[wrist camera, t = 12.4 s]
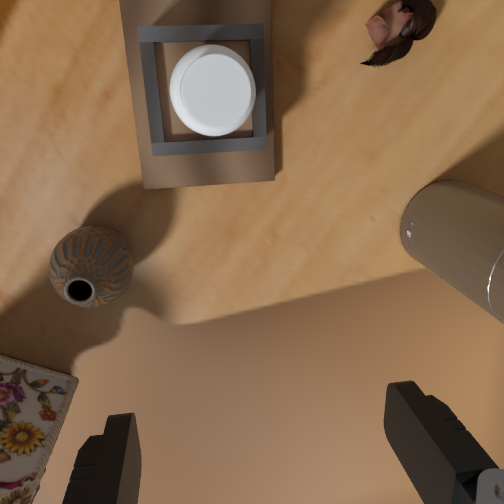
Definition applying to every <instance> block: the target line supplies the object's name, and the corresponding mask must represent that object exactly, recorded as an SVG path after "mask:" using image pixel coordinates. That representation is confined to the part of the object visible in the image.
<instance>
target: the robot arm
mask: <svg viewBox="0 0 504 504" xmlns="http://www.w3.org/2000/svg"><path fill="white" fill-rule="evenodd" d="M400 237H401V241H402V244H403V246H404V248H405V250H406V251H407V252H408V254H409V255H410V256H411V257H413V258H414V259H415V260H417V261H418V262H420V263H421V264H422V265H424V266H425V267H426V268H428V269H429V270H430V271H432V272H433V273H434V274H436V275H437V276H438V277H440V278H441V279H443V280H444V281H445V282H447V283H448V284H449V285H451V286H452V287H453V288H455V289H456V290H457V291H459V292H460V293H462V294H463V295H465V296H466V297H467V298H469V299H470V300H471V301H473V302H474V303H475V304H477V305H478V306H480V307H481V308H482V309H484V310H485V311H487V312H488V313H489V314H490V315H492V316H493V317H495V318H496V319H497V320H499V321H500V322H501V323H503V324H504V196H501V195H498V194H495V193H492V192H489V191H486V190H483V189H480V188H477V187H474V186H471V185H468V184H465V183H462V182H459V181H453V180H447V181H440V182H436V183H433V184H431V185H429V186H427V187H425V188H424V189H423V190H421V191H420V192H419V193H417V194H416V196H415V197H414V198H413V199H412V200H411V201H410V203H409V204H408V206H407V207H406V209H405V211H404V214H403V216H402V220H401V225H400ZM384 429H385V434H386V437H387V439H388V441H389V443H390V445H391V447H392V449H393V450H394V452H395V454H396V456H397V457H398V459H399V461H400V463H401V464H402V466H403V468H404V469H405V471H406V473H407V475H408V476H409V478H410V480H411V482H412V483H413V485H414V487H415V489H416V490H417V492H418V494H419V495H420V497H421V499H422V501H423V502H424V504H504V470H503V469H499V467H498V466H497V465H496V464H495V462H494V461H493V460H492V459H491V458H490V457H489V455H488V454H487V453H486V452H485V450H484V449H483V448H482V447H481V446H480V444H479V443H478V442H477V441H476V440H475V438H474V437H473V436H472V435H471V434H470V432H469V431H467V430H466V428H465V426H464V425H463V424H462V423H461V421H459V420H458V419H457V417H456V415H455V414H454V413H453V412H452V411H451V409H450V408H449V407H448V406H447V405H446V404H444V403H443V402H441V401H440V400H438V399H437V398H436V397H434V396H433V395H428V396H425V395H424V393H423V392H422V391H421V390H420V388H419V387H418V386H417V384H416V383H415V382H414V381H404V382H395V383H389V384H388V386H387V392H386V403H385V413H384ZM140 479H141V449H140V443H139V437H138V431H137V424H136V418H135V414H134V413H126V414H117V415H110V416H108V418H107V422H106V426H105V430H104V434H103V435H95V436H90V437H89V438H88V439H87V441H86V442H85V443H84V444H83V446H82V447H81V448H80V449H79V451H78V454H77V457H76V460H75V464H74V469H73V470H72V474H71V477H70V482H69V483H68V486H67V490H66V493H65V496H64V499H63V503H62V504H137V503H138V494H139V487H140Z"/></svg>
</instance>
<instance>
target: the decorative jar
mask: <svg viewBox="0 0 504 504" xmlns="http://www.w3.org/2000/svg"><path fill="white" fill-rule="evenodd" d="M78 383H79V380H78V378H77V377H74V376H71V375H68V374H64V373H61V372H57V371H54V370H51V369H47V368H43V367H40V366H37V365H33V364H30V363H27V362H23V361H20V360H17V359H13V358H10V357H6V356H3V355H0V504H32V502H33V500H34V498H35V495H36V493H37V492H38V490H39V489H40V480H41V478H42V476H43V474H44V473H45V471H46V465H47V463H48V460H49V457H50V455H51V453H52V450H53V448H54V445H55V443H56V440H57V438H58V435H59V433H60V430H61V428H62V425H63V423H64V420H65V417H66V415H67V412H68V409H69V406H70V404H71V401H72V398H73V395H74V393H75V390H76V388H77V385H78Z"/></svg>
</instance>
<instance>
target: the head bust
mask: <svg viewBox="0 0 504 504" xmlns="http://www.w3.org/2000/svg"><path fill="white" fill-rule="evenodd" d="M435 12H437V10H436V8H435V6H434V4H433V5H432V2H431V1H430V0H401V1H400V2H397V3H396V2H393V3H392V5H391V6H389V7H388V8H387V9H385V10H383V12H382V17H383V18H382V17H380V16H374V18H373V19H371V20H370V21H369V22H368V23H367V24H365V25H366V26H367V29H368V32H369V35H370V37H371V39H372V40H373V41H374V43H375V45H376V47H377V49H378V51H375V52H376V53H374V52H373V53H372V57H371V56H370V58H371V59H369V61H368V60H367V61H365V62H363V63H360V64H364V65H368V66H370V65H372V66H373V65H374V64H376V65H377V66H380V67H381V66H384V65H387V63H388V64H389V63H390V62H392V61H393V60H394V61H396V60H398V59H401V58H403V57H404V56H405V55H406V54H407V53H408V52H409V51H410V49H411V46H412V44H413V40H421V39H423V38H425V37H426V36H427V35H428V34H429V33H430V32H431V30H432V29H433V26H434V23H435V20H436V14H437V13H435ZM397 36H398V37H400V38H402V39H404V40H403V41H400V42H401V43H400V44H399V41H398V44H399V45H397V44H396V45H397V46H386V45H387V44H388V43H389V42H390V41H391V40H392V39H393V38H395V37H397ZM394 45H395V44H394ZM385 47H386V48H385ZM384 49H385V50H384ZM384 52H385V53H384ZM373 54H374V55H373ZM394 55H395V56H394ZM388 56H389V57H388ZM374 66H375V65H374Z"/></svg>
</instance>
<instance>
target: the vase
mask: <svg viewBox="0 0 504 504" xmlns="http://www.w3.org/2000/svg"><path fill="white" fill-rule="evenodd" d="M133 267H134V260H133V255H132V252H131V249H130V247H129V245H128V243H127V242H126V241H125V239H124V238H123V237H122V236H121V235H119V234H118V233H117V232H115V231H113V230H111V229H109V228H106V227H102V226H85V227H81V228H78V229H75V230H73V231H71V232H70V233H68V234H67V235H66V236H65V237H63V238H62V239H61V240H60V242H59V243H58V244H57V245H56V247H55V248H54V250H53V252H52V255H51V258H50V263H49V274H50V279H51V283H52V285H53V287H54V289H55V290H56V292H57V293H58V294H59V295H60V296H61V297H62V298H63V299H64V300H66V301H67V302H69V303H71V304H73V305H76V306H79V307H85V308H93V307H99V306H103V305H106V304H108V303H110V302H112V301H113V300H115V299H116V298H117V297H119V296H120V295H121V294H122V293H123V292H124V290H125V289H126V288H127V286H128V284H129V282H130V280H131V277H132V274H133Z"/></svg>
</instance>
